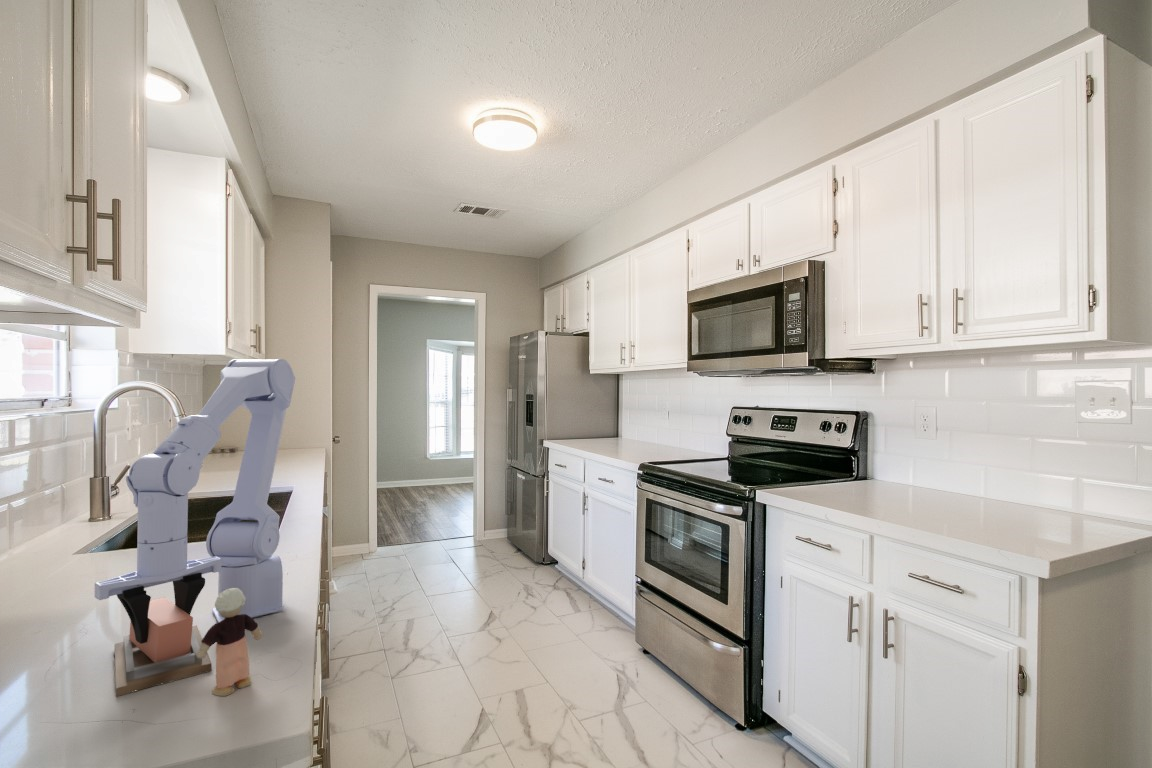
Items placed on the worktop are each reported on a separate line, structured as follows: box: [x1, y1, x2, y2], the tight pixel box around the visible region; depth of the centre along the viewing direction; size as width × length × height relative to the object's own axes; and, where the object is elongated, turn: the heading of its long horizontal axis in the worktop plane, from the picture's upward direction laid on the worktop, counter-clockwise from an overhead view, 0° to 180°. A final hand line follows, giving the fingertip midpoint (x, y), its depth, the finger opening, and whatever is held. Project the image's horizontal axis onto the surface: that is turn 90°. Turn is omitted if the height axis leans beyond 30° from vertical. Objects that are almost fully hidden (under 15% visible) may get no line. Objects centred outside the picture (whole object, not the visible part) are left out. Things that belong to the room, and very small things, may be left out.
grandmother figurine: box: [196, 588, 264, 697], centre depth 71 cm, size 8×4×13 cm, turn 159°
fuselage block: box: [128, 596, 194, 663], centre depth 79 cm, size 4×10×5 cm, turn 55°
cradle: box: [114, 625, 213, 697], centre depth 78 cm, size 10×16×2 cm, turn 40°
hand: (161, 635), depth 78 cm, fingers closed on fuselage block, 4 cm apart
